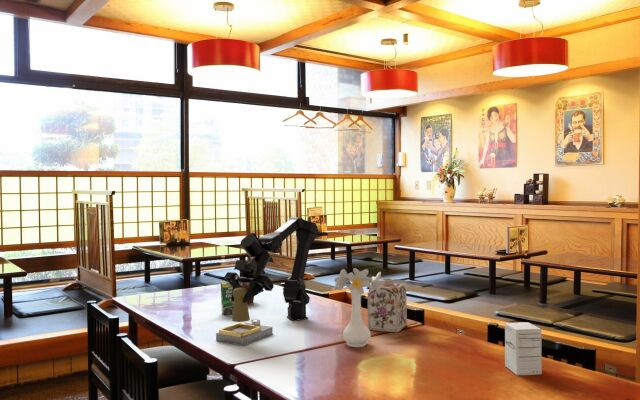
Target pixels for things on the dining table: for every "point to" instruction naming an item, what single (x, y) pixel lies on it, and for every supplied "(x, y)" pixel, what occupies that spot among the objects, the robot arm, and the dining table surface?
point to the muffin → (247, 290)
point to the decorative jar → (387, 307)
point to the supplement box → (523, 348)
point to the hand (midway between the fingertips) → (237, 301)
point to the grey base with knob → (243, 333)
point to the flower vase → (357, 304)
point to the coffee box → (226, 299)
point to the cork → (240, 306)
